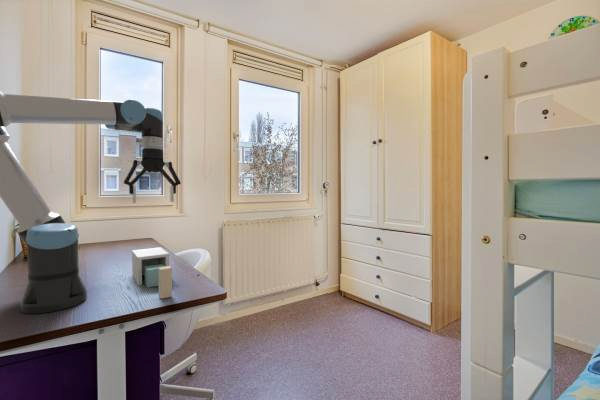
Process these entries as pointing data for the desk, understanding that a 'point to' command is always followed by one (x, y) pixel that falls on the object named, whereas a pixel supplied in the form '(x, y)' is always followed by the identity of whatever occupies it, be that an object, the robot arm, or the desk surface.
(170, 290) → the tethered block
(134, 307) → the desk surface
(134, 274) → the white open box
